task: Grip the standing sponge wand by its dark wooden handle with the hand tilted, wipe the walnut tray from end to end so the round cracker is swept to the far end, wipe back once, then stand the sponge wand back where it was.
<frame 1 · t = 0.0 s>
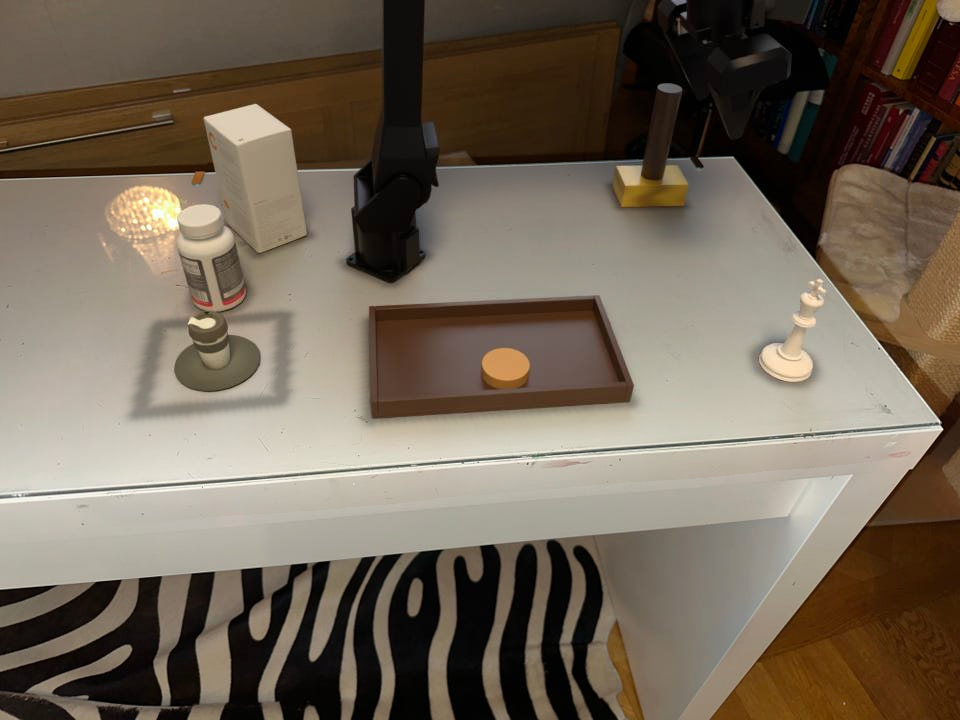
hand: (718, 117, 77), 15 cm above the table, tool pointing down, fingers open, 9 cm apart
pill bottle: (220, 298, 77), on the table
chess piece: (784, 366, 72), on the table
tray: (493, 360, 71), on the table
small box: (267, 231, 87), on the table
cracker: (505, 373, 69), point 1 cm above the table, touching tray
sponge wand: (647, 196, 95), on the table
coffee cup: (217, 362, 70), on the table
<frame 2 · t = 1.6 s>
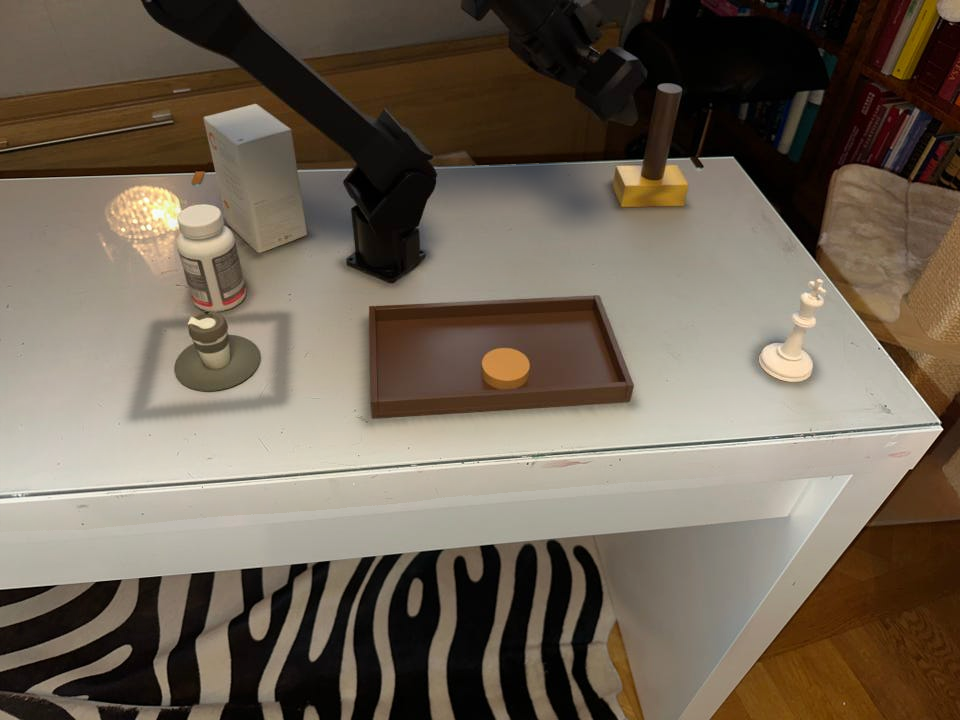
hand: (610, 105, 83), 13 cm above the table, tool tilted 45°, fingers open, 9 cm apart
nothing on the table moved.
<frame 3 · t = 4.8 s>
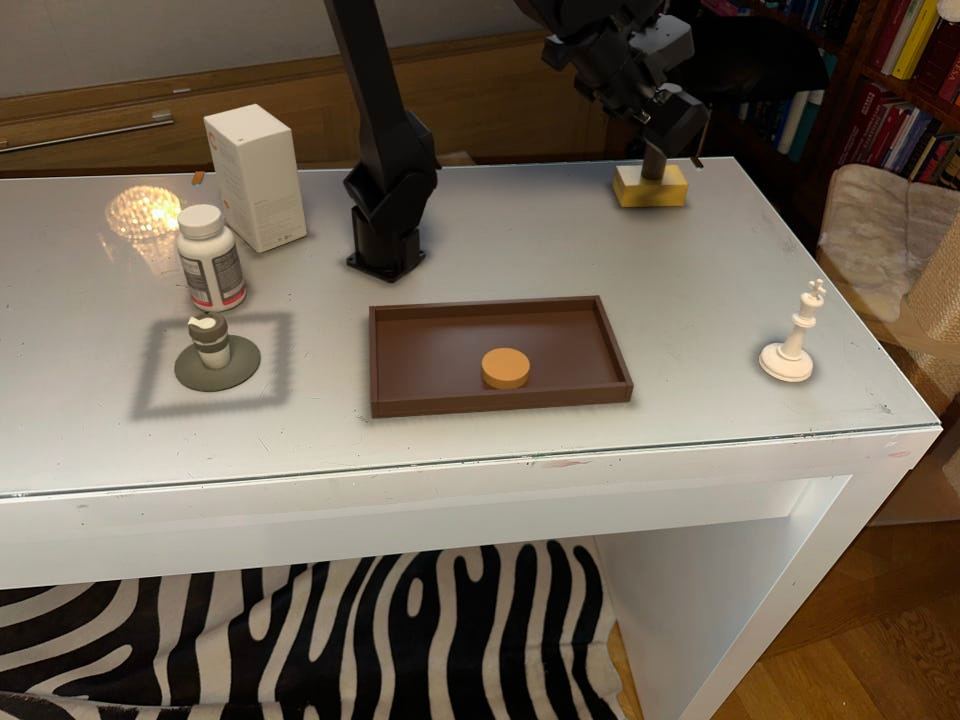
hand: (668, 138, 91), 8 cm above the table, tool tilted 45°, fingers closed on sponge wand, 3 cm apart
sponge wand: (647, 196, 95), on the table, touching gripper
everything else where it was.
when the fingers open (7 cm above the table, at t = 30.6 s): sponge wand stays where it is, on the table.
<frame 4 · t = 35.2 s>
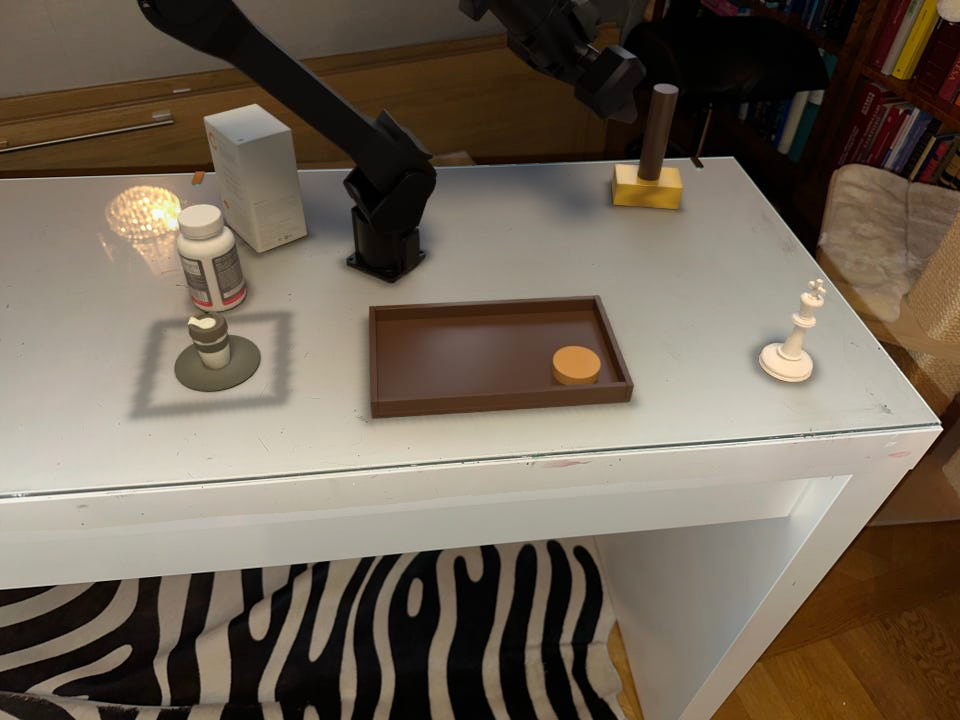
hand: (610, 102, 83), 14 cm above the table, tool tilted 45°, fingers open, 9 cm apart
cracker: (575, 371, 70), point 1 cm above the table, touching tray
sponge wand: (644, 196, 95), on the table
everything else where it was.
at the end: cracker 1.5 cm from the target spot in the tray, point 0.6 cm above the tray's base; sponge wand tilted 0°; the gripper is holding nothing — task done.
